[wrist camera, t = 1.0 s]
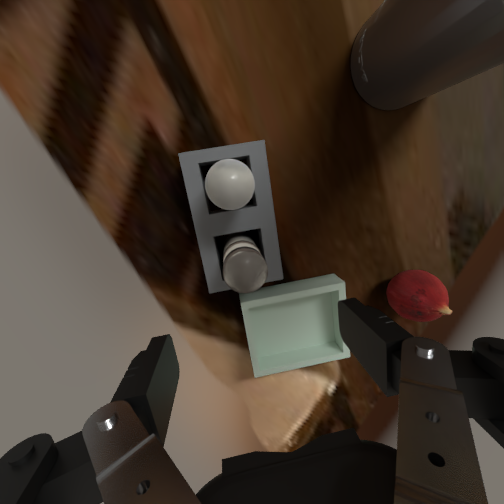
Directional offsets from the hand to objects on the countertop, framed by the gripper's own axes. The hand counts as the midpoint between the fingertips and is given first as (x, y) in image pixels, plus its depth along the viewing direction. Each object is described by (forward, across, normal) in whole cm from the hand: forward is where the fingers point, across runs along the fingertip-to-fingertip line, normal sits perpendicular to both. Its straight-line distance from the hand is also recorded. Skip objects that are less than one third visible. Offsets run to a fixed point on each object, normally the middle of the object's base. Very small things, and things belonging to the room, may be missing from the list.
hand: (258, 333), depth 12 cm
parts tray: (+18, -5, +10) cm, 22 cm away
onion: (+18, -19, +8) cm, 28 cm away
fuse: (+18, 0, -7) cm, 19 cm away
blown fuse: (+18, 0, 0) cm, 18 cm away
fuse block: (+18, 0, -4) cm, 18 cm away
